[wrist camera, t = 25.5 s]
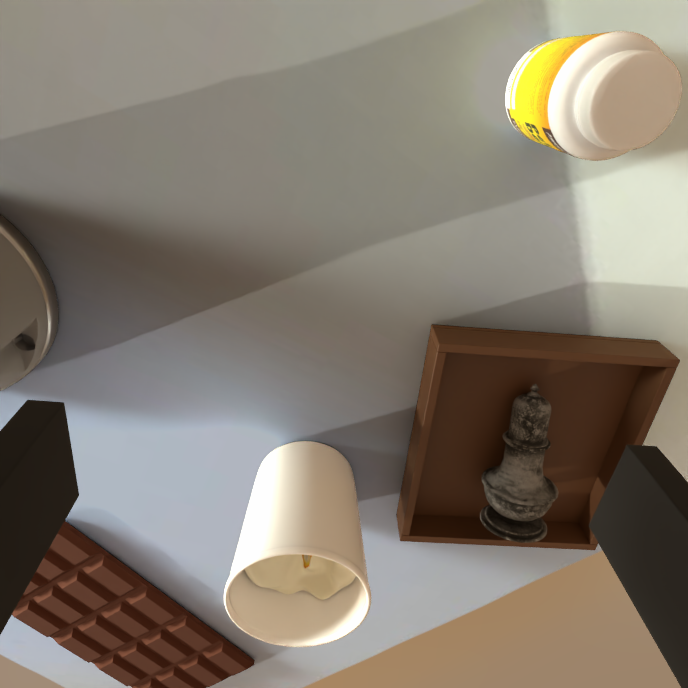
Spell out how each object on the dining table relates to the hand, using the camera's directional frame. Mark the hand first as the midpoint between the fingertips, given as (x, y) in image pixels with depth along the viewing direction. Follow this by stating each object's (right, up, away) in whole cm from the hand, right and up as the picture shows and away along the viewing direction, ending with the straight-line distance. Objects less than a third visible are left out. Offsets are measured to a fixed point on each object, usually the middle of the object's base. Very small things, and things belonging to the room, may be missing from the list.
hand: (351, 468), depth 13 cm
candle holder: (-3, -9, +33) cm, 34 cm away
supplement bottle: (+12, +18, +19) cm, 29 cm away
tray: (+14, -5, +31) cm, 35 cm away
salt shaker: (+14, -12, +30) cm, 35 cm away
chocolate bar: (-23, -26, +41) cm, 54 cm away
